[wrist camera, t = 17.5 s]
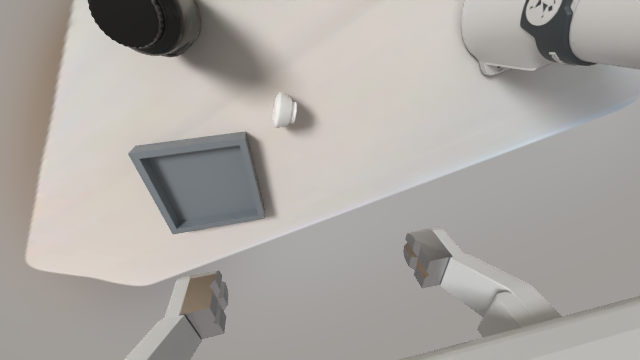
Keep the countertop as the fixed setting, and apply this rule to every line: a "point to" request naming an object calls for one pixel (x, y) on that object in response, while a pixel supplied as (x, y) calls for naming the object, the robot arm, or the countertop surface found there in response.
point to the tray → (201, 181)
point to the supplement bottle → (148, 23)
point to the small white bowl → (284, 110)
